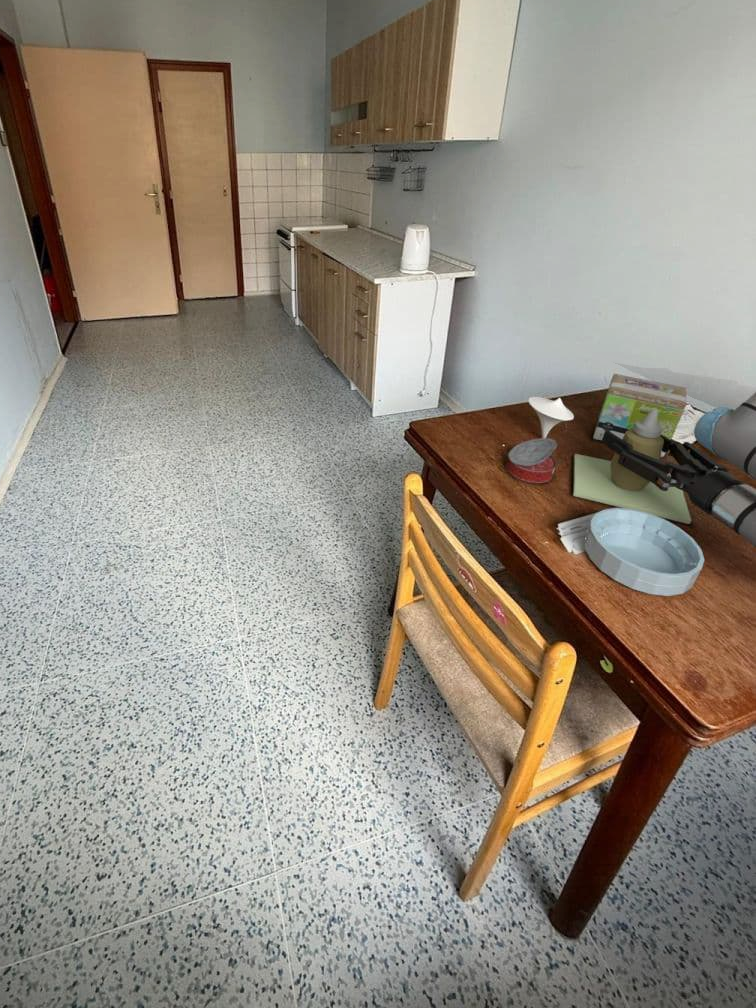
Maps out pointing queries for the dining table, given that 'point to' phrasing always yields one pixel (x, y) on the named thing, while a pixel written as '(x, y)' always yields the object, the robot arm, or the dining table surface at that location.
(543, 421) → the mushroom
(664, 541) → the bowl
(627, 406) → the tea box
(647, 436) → the squeeze bottle
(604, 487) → the mat
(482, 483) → the dining table surface
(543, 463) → the canned food
